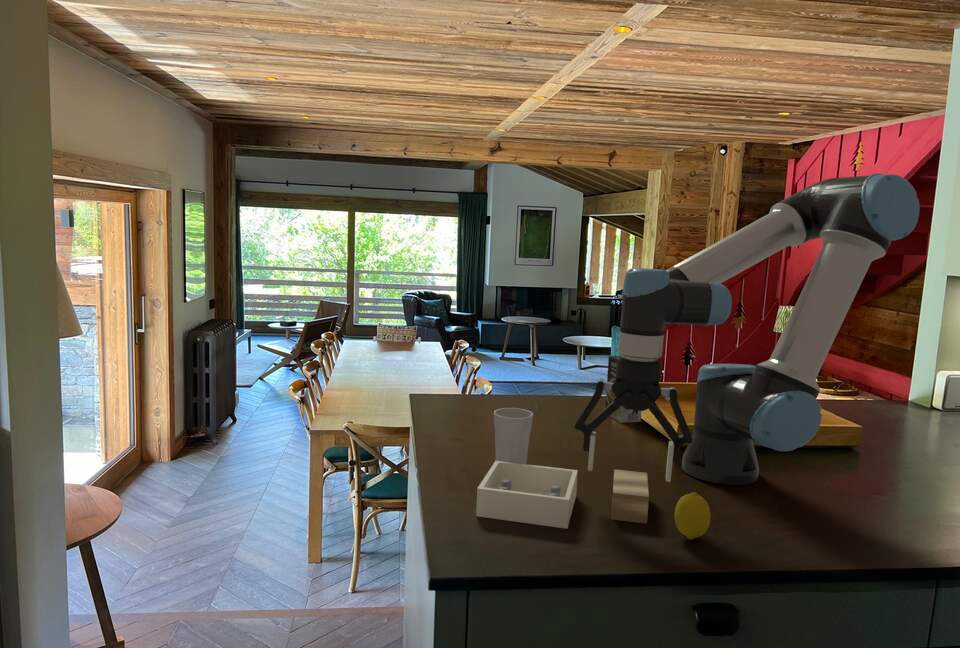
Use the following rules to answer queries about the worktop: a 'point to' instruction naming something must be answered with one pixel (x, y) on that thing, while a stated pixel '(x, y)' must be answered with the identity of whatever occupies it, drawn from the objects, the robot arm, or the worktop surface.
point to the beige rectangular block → (630, 496)
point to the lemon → (692, 515)
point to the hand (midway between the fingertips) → (628, 474)
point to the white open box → (527, 494)
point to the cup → (512, 434)
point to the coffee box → (621, 412)
